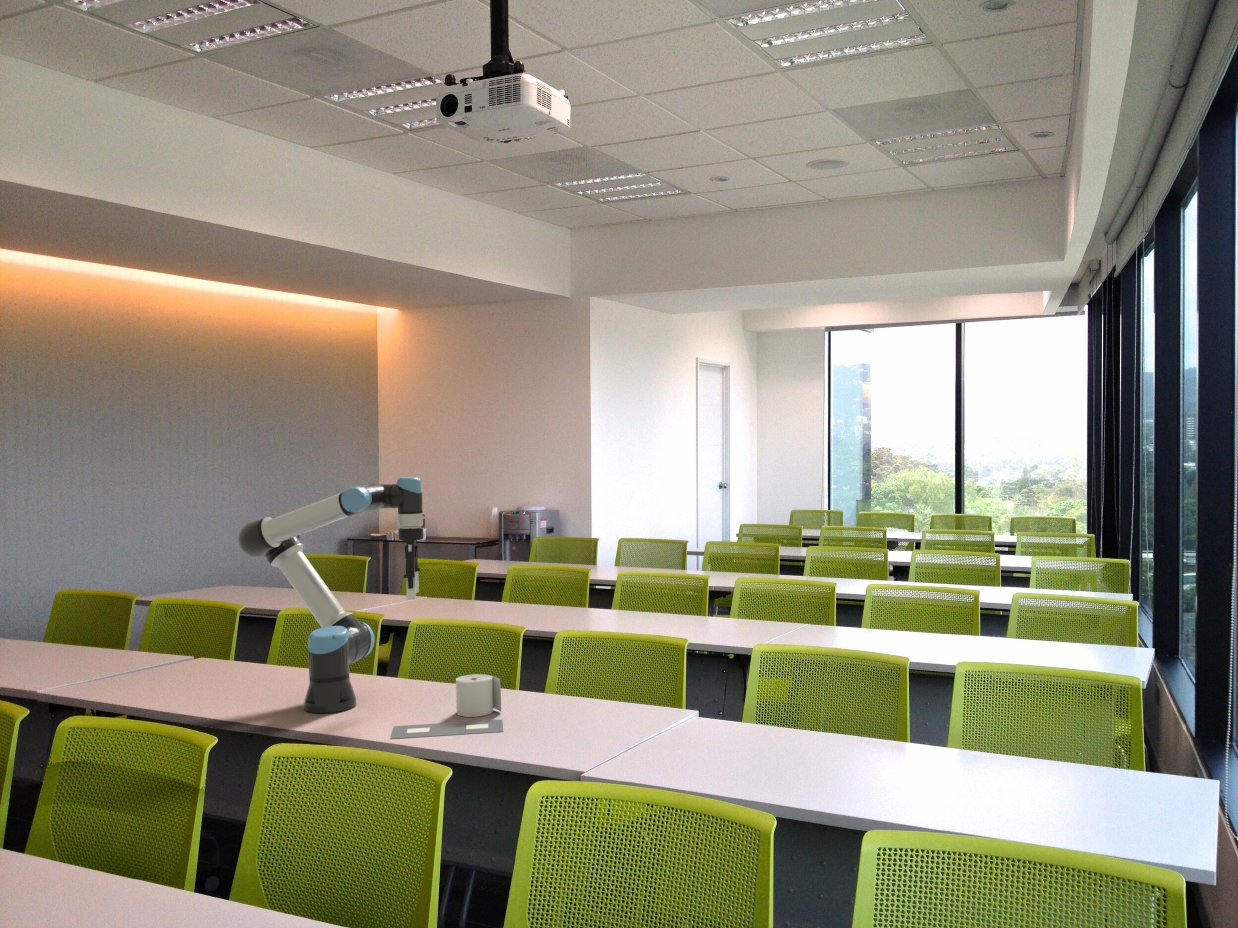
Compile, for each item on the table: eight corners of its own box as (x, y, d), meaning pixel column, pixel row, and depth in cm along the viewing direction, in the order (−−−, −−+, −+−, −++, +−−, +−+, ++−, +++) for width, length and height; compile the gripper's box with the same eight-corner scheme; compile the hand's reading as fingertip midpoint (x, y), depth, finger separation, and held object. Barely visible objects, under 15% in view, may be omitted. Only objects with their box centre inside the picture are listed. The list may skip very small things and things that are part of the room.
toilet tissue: (453, 710, 295) (452, 676, 295) (493, 705, 299) (492, 671, 299) (460, 719, 285) (459, 684, 285) (501, 714, 289) (501, 679, 289)
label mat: (390, 738, 267) (390, 738, 267) (394, 726, 279) (394, 725, 279) (503, 731, 271) (503, 730, 271) (502, 719, 283) (502, 718, 283)
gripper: (420, 530, 297) (422, 601, 297) (425, 523, 322) (427, 589, 322) (394, 531, 296) (397, 602, 296) (401, 524, 321) (403, 590, 321)
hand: (412, 595), depth 309 cm, fingers open, 13 cm apart
